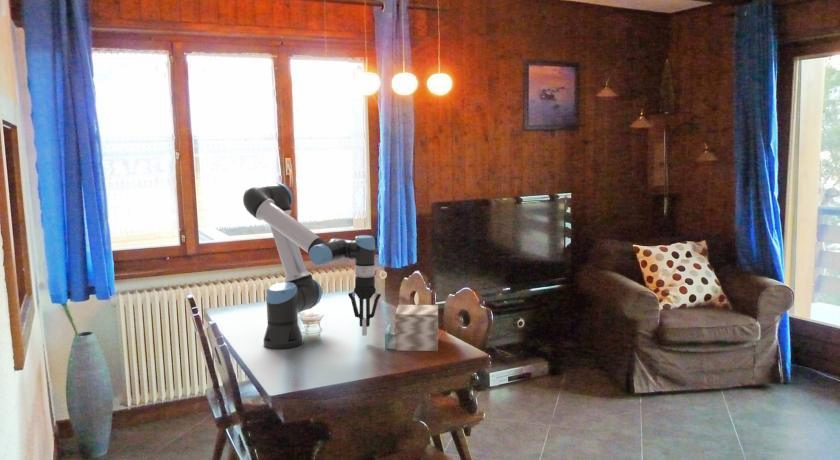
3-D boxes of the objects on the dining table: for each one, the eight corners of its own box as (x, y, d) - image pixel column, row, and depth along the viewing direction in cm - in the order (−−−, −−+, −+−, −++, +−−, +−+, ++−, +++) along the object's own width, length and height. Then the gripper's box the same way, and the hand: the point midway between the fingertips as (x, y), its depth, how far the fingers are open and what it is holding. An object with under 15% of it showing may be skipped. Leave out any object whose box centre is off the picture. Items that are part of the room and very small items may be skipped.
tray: (385, 348, 248) (384, 333, 247) (388, 339, 261) (388, 324, 260) (434, 349, 247) (434, 333, 246) (435, 339, 260) (435, 324, 259)
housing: (395, 350, 247) (395, 314, 245) (398, 338, 262) (398, 304, 260) (437, 350, 246) (437, 314, 244) (438, 339, 261) (438, 305, 259)
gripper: (346, 277, 249) (346, 336, 252) (380, 278, 248) (380, 337, 251) (349, 273, 256) (349, 331, 259) (382, 274, 255) (382, 332, 259)
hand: (364, 334), depth 255 cm, fingers closed
